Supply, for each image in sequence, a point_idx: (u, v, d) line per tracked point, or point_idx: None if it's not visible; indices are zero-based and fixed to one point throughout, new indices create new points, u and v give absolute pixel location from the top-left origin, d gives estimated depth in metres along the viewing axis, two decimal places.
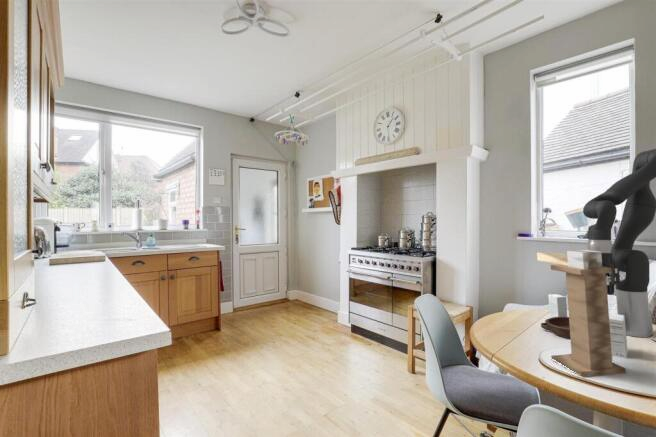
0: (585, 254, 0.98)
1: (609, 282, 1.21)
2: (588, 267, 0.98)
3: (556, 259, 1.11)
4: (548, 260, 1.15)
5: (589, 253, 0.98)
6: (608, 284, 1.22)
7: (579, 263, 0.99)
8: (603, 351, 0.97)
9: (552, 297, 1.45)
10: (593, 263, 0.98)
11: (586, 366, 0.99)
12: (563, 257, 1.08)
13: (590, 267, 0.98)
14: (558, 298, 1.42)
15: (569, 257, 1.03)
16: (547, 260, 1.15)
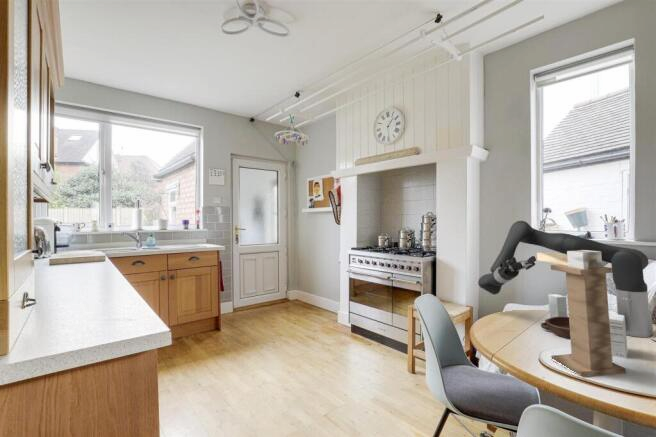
0: (585, 254, 0.98)
1: (508, 266, 1.39)
2: (588, 267, 0.98)
3: (556, 259, 1.11)
4: (548, 260, 1.15)
5: (589, 253, 0.98)
6: (509, 265, 1.38)
7: (579, 263, 0.99)
8: (603, 351, 0.97)
9: (552, 297, 1.45)
10: (593, 263, 0.98)
11: (586, 366, 0.99)
12: (563, 257, 1.08)
13: (590, 267, 0.98)
14: (558, 298, 1.42)
15: (569, 257, 1.03)
16: (547, 260, 1.15)
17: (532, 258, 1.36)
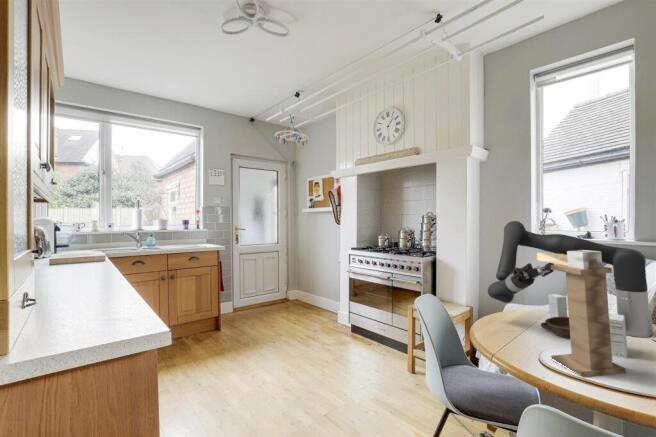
0: (585, 254, 0.98)
1: (523, 273, 1.23)
2: (588, 267, 0.98)
3: (556, 259, 1.11)
4: (548, 260, 1.15)
5: (589, 253, 0.98)
6: (525, 272, 1.23)
7: (579, 263, 0.99)
8: (603, 351, 0.97)
9: (552, 297, 1.45)
10: (593, 263, 0.98)
11: (586, 366, 0.99)
12: (563, 257, 1.08)
13: (590, 267, 0.98)
14: (558, 298, 1.42)
15: (569, 257, 1.03)
16: (547, 260, 1.15)
17: (550, 264, 1.21)
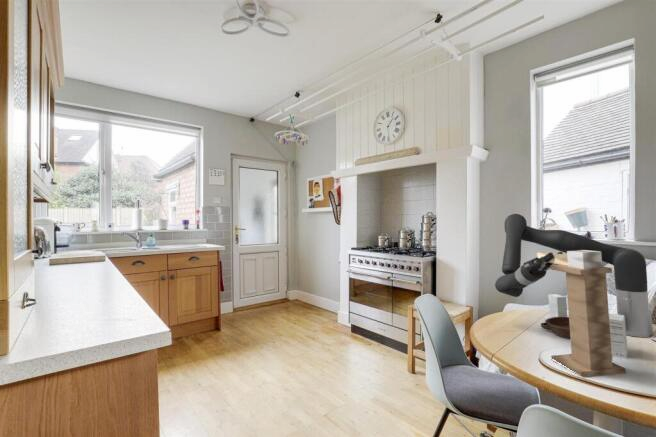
0: (585, 254, 0.98)
1: (543, 262, 1.15)
2: (588, 267, 0.98)
3: (556, 259, 1.11)
4: None
5: (589, 253, 0.98)
6: (545, 262, 1.15)
7: (579, 263, 0.99)
8: (603, 351, 0.97)
9: (552, 297, 1.45)
10: (593, 263, 0.98)
11: (586, 366, 0.99)
12: (563, 257, 1.08)
13: (590, 267, 0.98)
14: (558, 298, 1.42)
15: (569, 257, 1.03)
16: None
17: None
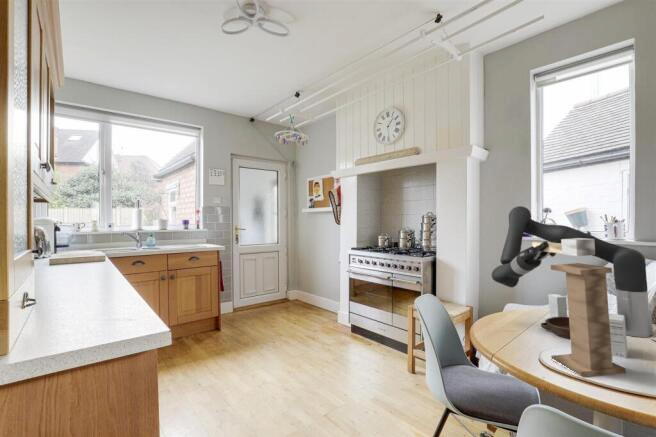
0: (578, 241, 1.00)
1: (538, 251, 1.18)
2: (581, 254, 1.00)
3: (550, 247, 1.13)
4: None
5: (582, 240, 1.00)
6: (540, 251, 1.17)
7: (573, 250, 1.02)
8: (603, 351, 0.97)
9: (552, 297, 1.45)
10: (586, 250, 1.00)
11: (586, 366, 0.99)
12: (557, 245, 1.10)
13: (583, 254, 1.00)
14: (558, 298, 1.42)
15: (563, 245, 1.05)
16: None
17: None
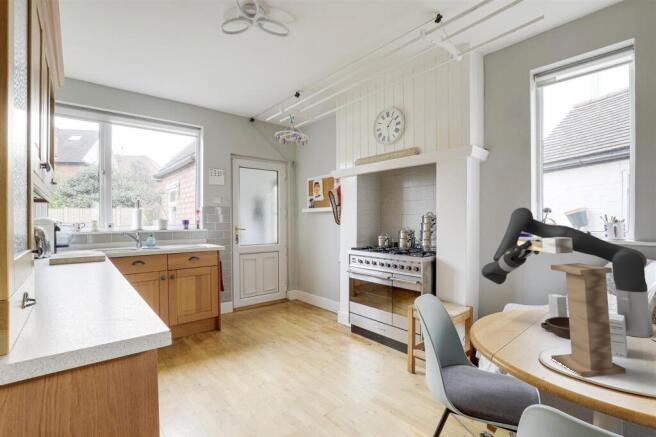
0: (557, 240, 1.09)
1: (522, 249, 1.26)
2: (560, 252, 1.09)
3: (533, 245, 1.22)
4: None
5: (561, 239, 1.09)
6: (524, 249, 1.26)
7: (552, 248, 1.10)
8: (603, 351, 0.97)
9: (552, 297, 1.45)
10: (564, 248, 1.09)
11: (586, 366, 0.99)
12: (539, 244, 1.18)
13: (561, 252, 1.09)
14: (558, 298, 1.42)
15: (544, 243, 1.14)
16: None
17: None
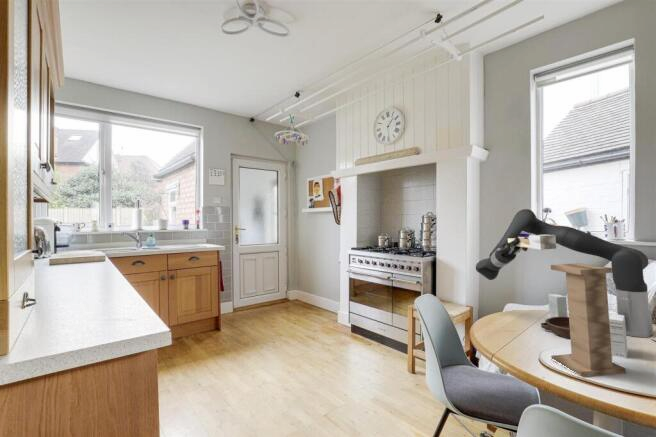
0: (542, 237, 1.19)
1: (511, 246, 1.36)
2: (544, 248, 1.19)
3: (521, 242, 1.32)
4: None
5: (545, 236, 1.19)
6: (513, 246, 1.36)
7: (537, 244, 1.20)
8: (603, 351, 0.97)
9: (552, 297, 1.45)
10: (548, 244, 1.19)
11: (586, 366, 0.99)
12: (527, 241, 1.28)
13: (546, 248, 1.19)
14: (558, 298, 1.42)
15: (530, 240, 1.24)
16: None
17: None
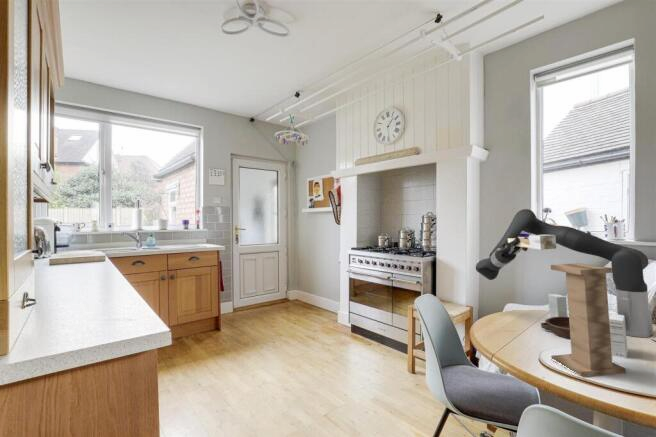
0: (542, 237, 1.19)
1: (511, 246, 1.36)
2: (544, 248, 1.19)
3: (521, 242, 1.32)
4: None
5: (545, 236, 1.19)
6: (513, 246, 1.36)
7: (537, 244, 1.20)
8: (603, 351, 0.97)
9: (552, 297, 1.45)
10: (548, 244, 1.19)
11: (586, 366, 0.99)
12: (527, 241, 1.28)
13: (546, 248, 1.19)
14: (558, 298, 1.42)
15: (530, 240, 1.24)
16: None
17: None
